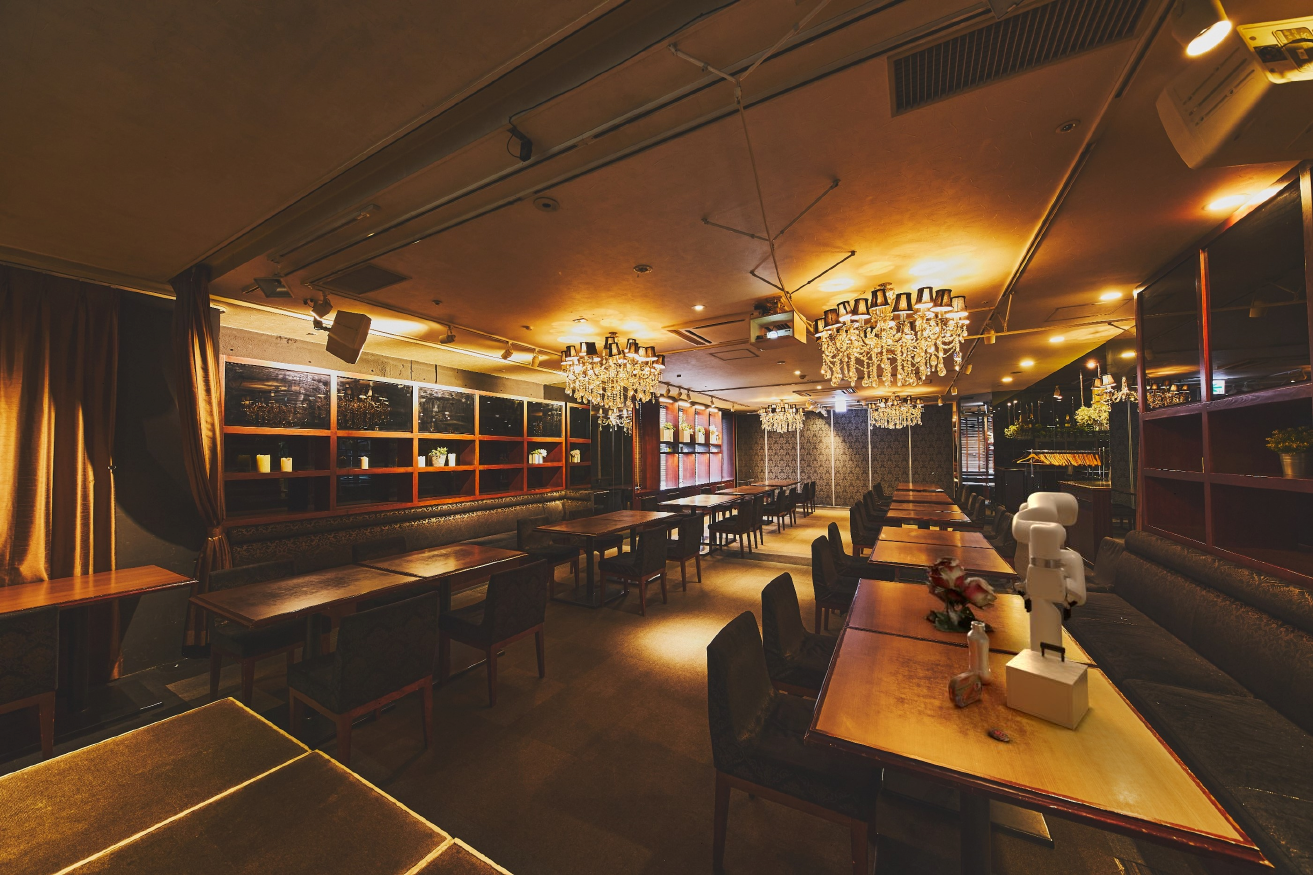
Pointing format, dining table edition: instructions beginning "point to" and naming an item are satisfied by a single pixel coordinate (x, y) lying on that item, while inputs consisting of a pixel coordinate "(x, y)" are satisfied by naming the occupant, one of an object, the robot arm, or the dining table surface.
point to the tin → (965, 688)
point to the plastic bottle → (979, 652)
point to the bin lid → (1048, 665)
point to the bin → (1048, 698)
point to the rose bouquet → (957, 596)
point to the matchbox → (998, 734)
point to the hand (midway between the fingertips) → (1047, 615)
